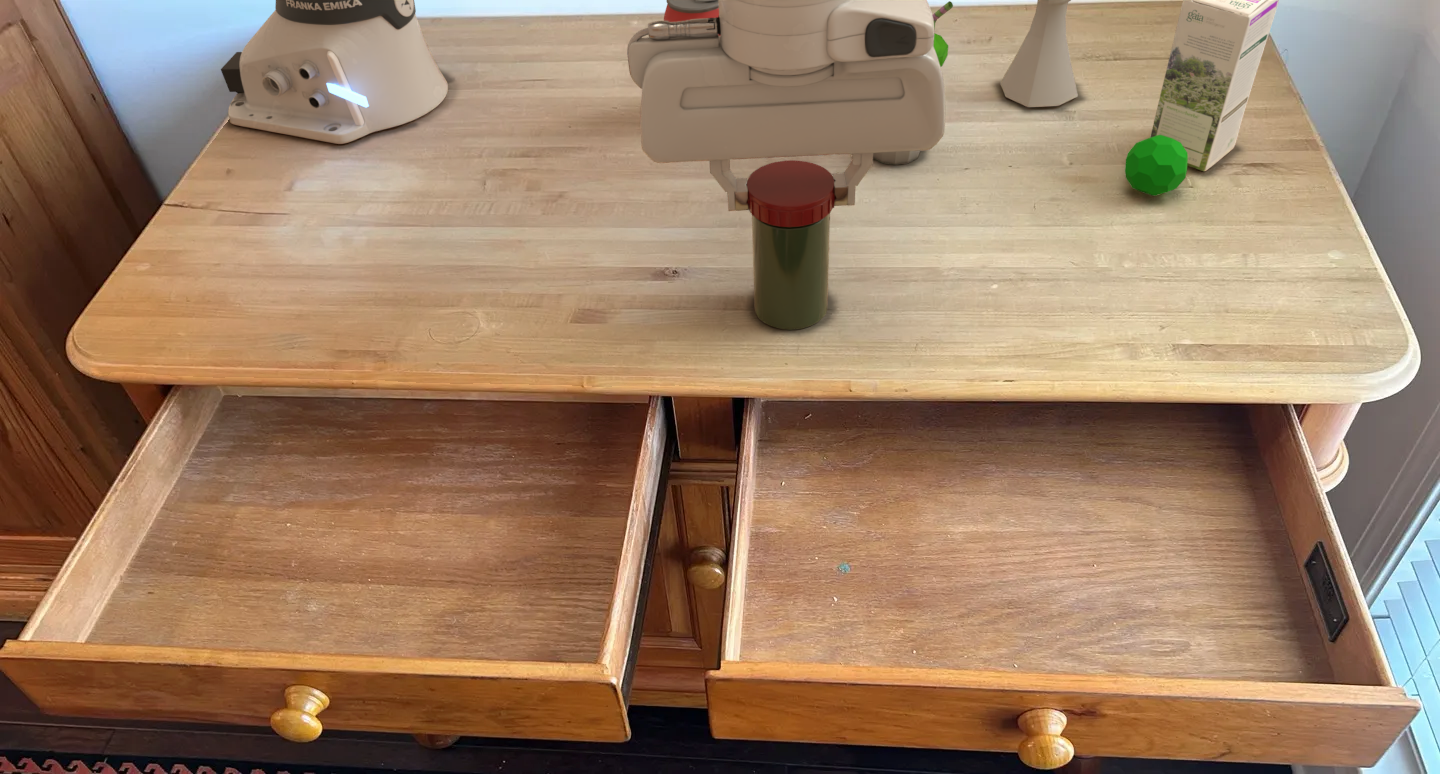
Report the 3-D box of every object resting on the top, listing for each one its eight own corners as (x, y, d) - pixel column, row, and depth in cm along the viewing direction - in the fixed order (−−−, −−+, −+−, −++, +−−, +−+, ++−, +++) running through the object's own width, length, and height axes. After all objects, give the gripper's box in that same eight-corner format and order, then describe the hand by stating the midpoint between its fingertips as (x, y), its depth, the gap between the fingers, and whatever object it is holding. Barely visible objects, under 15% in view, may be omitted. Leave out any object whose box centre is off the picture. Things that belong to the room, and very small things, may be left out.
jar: (748, 326, 80) (744, 208, 73) (761, 282, 84) (758, 167, 77) (822, 333, 79) (825, 214, 72) (831, 288, 83) (835, 172, 76)
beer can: (731, 134, 101) (724, 12, 93) (665, 130, 102) (652, 10, 94) (744, 101, 106) (738, -17, 98) (680, 98, 107) (670, -19, 99)
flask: (1051, 70, 107) (1067, -29, 101) (1090, 101, 102) (1110, -1, 95) (987, 83, 106) (999, -16, 99) (1023, 115, 101) (1039, 14, 94)
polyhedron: (1109, 192, 90) (1120, 143, 87) (1135, 168, 93) (1147, 119, 90) (1165, 212, 88) (1179, 161, 84) (1190, 187, 90) (1205, 137, 87)
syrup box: (1236, 148, 94) (1285, -12, 85) (1203, 175, 91) (1251, 12, 82) (1176, 128, 97) (1217, -29, 88) (1143, 153, 95) (1182, -7, 85)
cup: (837, 142, 99) (841, -17, 89) (911, 124, 101) (924, -34, 91) (876, 182, 93) (885, 18, 83) (953, 162, 95) (971, -1, 85)
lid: (782, 238, 72) (782, 217, 70) (729, 200, 76) (728, 179, 74) (853, 206, 74) (854, 185, 73) (798, 171, 78) (798, 150, 77)
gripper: (620, 45, 64) (643, 236, 73) (960, 27, 63) (940, 222, 72) (626, 2, 68) (648, 187, 78) (944, -15, 68) (927, 174, 77)
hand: (791, 204), depth 75 cm, fingers closed on lid, 6 cm apart
